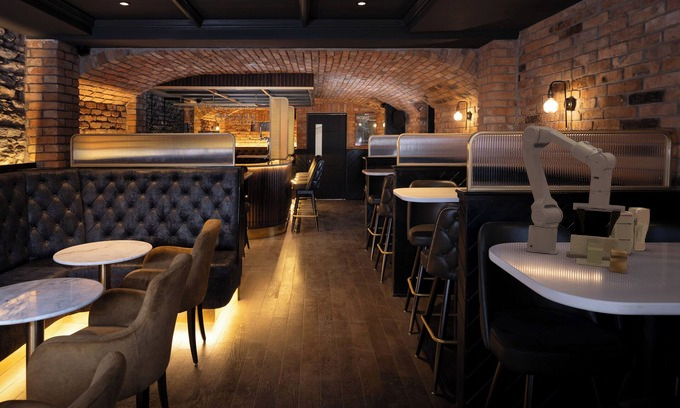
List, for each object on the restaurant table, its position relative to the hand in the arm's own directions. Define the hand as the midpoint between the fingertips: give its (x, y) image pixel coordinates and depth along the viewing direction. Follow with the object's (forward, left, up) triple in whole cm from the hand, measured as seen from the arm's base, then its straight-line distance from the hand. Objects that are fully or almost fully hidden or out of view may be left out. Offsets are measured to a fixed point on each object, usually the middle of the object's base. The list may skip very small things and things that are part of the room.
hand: (596, 233), depth 160 cm
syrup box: (+9, +22, -10) cm, 25 cm away
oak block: (+6, -9, -9) cm, 14 cm away
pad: (0, -2, -9) cm, 10 cm away
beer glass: (+15, +31, -10) cm, 36 cm away
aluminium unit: (0, +7, -9) cm, 12 cm away
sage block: (0, -2, -9) cm, 9 cm away
